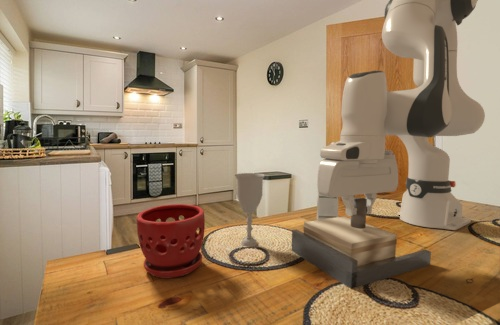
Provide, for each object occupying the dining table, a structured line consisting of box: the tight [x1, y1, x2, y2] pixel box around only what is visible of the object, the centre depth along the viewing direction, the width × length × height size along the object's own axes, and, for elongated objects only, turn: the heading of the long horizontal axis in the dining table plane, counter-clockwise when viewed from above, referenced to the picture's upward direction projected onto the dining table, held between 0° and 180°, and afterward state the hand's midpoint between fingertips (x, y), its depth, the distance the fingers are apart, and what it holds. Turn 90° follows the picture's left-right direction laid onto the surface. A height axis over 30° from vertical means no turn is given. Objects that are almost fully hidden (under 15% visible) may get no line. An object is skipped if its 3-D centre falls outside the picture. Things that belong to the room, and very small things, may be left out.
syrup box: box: [316, 188, 339, 220], centre depth 82 cm, size 6×6×14 cm
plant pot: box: [136, 203, 206, 279], centre depth 58 cm, size 13×13×12 cm
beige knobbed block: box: [303, 196, 398, 267], centre depth 60 cm, size 12×14×13 cm
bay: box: [291, 229, 432, 290], centre depth 61 cm, size 22×18×6 cm
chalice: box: [234, 172, 266, 248], centre depth 68 cm, size 7×7×18 cm
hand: (358, 214), depth 61 cm, fingers closed on beige knobbed block, 3 cm apart
